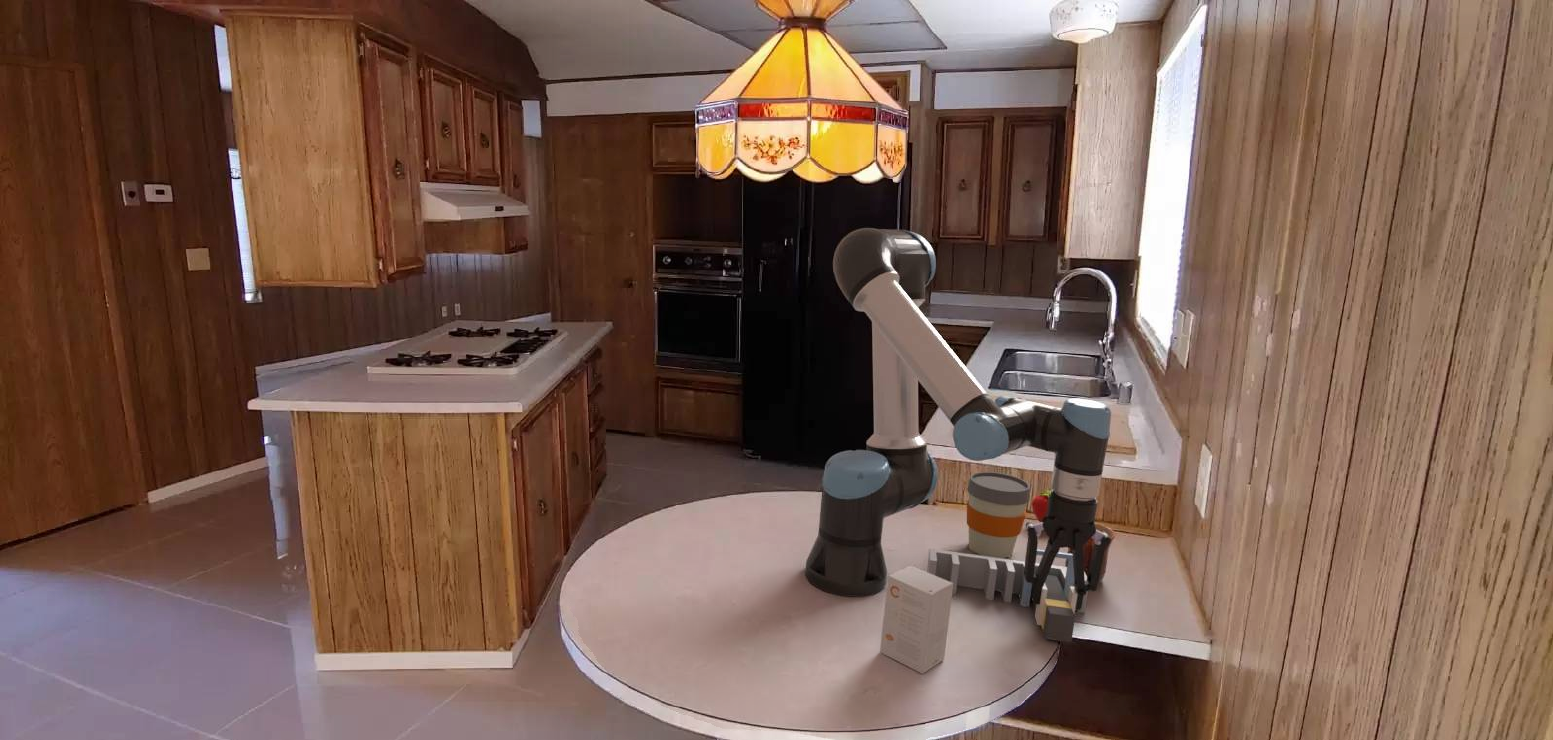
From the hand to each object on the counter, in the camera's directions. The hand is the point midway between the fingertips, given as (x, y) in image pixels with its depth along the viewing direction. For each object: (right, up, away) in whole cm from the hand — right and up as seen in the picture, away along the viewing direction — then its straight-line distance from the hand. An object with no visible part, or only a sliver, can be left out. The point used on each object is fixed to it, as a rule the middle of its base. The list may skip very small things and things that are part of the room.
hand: (1053, 622), depth 136 cm
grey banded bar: (0, 0, +3) cm, 3 cm away
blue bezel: (+1, 0, +8) cm, 8 cm away
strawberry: (+14, +7, +46) cm, 49 cm away
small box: (-26, -2, -12) cm, 29 cm away
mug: (+13, +2, +20) cm, 24 cm away
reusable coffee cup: (-2, +5, +32) cm, 32 cm away
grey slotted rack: (-5, +2, +11) cm, 13 cm away
